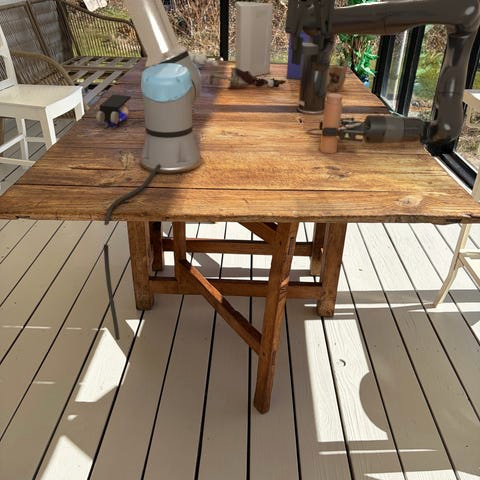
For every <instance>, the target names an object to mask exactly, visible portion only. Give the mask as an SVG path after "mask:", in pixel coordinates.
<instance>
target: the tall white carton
mask: <svg viewBox="0 0 480 480" xmlns="http://www.w3.org/2000/svg"><path fill="white" fill-rule="evenodd" d="M273 8H274V4H273V3H269V2H267V3H266V2H265V3H264V2H252V1H235V59H234V60H235V62H234V63H235V65H234V66H235V67H234V68H237V69H240V70H242V71H244V72H245V71H249V72H250V73H251V75H252V76H256V77H257V76H259V75H260V76H261V75H266V74H270V73H271V56H272V55H271V54H272V33H273V32H272V31H273V10H274V9H273Z"/></svg>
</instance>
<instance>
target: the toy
mask: <svg viewBox="0 0 480 480" xmlns="http://www.w3.org/2000/svg"><path fill="white" fill-rule="evenodd" d="M188 53H189V55H190V58H191V60H192V62H193V63H194V64H195V65H196V66H197V68H198V69H201V66H204V65H207V64H212V65H213V66H214V67H216V68H217V67H218V66H219V63H218V62H217V61H216V60H215V59H213V58H207V56H206V55H205V54H202V53H201V51H197V52H196V53H193V52H190V51H188Z"/></svg>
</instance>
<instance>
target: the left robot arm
mask: <svg viewBox="0 0 480 480" xmlns="http://www.w3.org/2000/svg"><path fill="white" fill-rule="evenodd" d="M123 3H124V5H125V8H126V10H127V12H128V15H129V16H130V19H131V21H132V23H133V26H134V29H135V31H136V34H138V38H139V40H140V42H141V44H142V47H143V49H144V51H145V53H146V56H147V58H146V62H145V68H144V69H143V71H142V73H141V77H140V78H141V79H140V81H141V82H140V90H141V94H142V105H143V115H144V125H145V138H144V142H143V146H142V150H141V154H140V162H141V166H142V168H144V169H145V170H146V171H149V172H151V173H150V174H149V175H148V177H147V178H146V180H145V181H144V182H143V183H142V184H141V185H140V186H139V187H137V188H136V189H134V190H133V191H130V192H129V193H127V194H125V195H122V196H121V197H119V198H117V199H116V200H115V201H114V202H113V203H111V204H110V205H109V207H108V208H107V210H106V214H105V218H104V223H103V225H104V226H108V225H109V224H110V220H111V215H112V212H113V210H114V209H115V208H116V207H117V206H118V205H119V204H121V203H122V202H123V201H125V200H128V199H130V198H131V197H133V196H135V195H137V194H138V193H140V192H141V191H143V190H144V189H145V188H146V187H147V186H148V185H149V183H150V182H151V180H152V179H153V178H154V176H155V175H156V174H163V175H164V174H165V175H169V174H170V175H172V174H173V175H175V174H182V173H187V172H190V171H193V170H195V169H197V168H198V167H199V166H201V163H202V155H201V151H200V149H199V146H198V143H201V137H200V136H198V135H196V134H195V133H194V130H193V129H194V126H193V104H194V103H195V102H196V100H197V99H198V98H199V96H200V93H201V91H202V85H203V80H202V75H201V71H200V68H197V66H196V65H195V64H194V63H193V62H192V60H191V58H190V55H189V53H188V52H189V50H188V48H187V47H185V46H183V45H182V44H179V41H178V38H177V36H176V34H175V31H174V29H173V25H172V23H171V21H170V19H169V15H168V14H167V11H166V9H165V5H164V4H163V1H162V0H123ZM335 3H336V0H287V9H286V17H285V26H284V32H285V34H286V33H287V34H288V35H289V34H290V35H291V36H292V38H291V50H292V61H291V63H292V64H296V65H300V61H301V52H302V42H303V37H301V36H300V35H301V31H302V28H303V25H304V21H305V18H306V15H307V12H308V8H310V7H312V6H314V14H315V25H316V33H317V35H316V34H313V41H312V43H314V44H318V53H317V54H316V55H311V59H310V62H313V63H317V64H318V63H319V60H320V52H321V49H322V48H323V42H324V36H327V35H328V32H331V31H332V24H333V14H334V8H335ZM197 142H198V143H197ZM109 255H110V254H109V244H103V259H104V271H105V279H106V280H105V281H106V288H107V295H108V300H109V305H110V306H109V307H110V311H111V317H112V323H113V330H114V337H115V340H116V341H119V340H120V338H121V337H120V330H119V324H118V318H117V311H116V308H115V307H116V306H115V300H114V293H113V288H112V280H111V271H110V256H109Z"/></svg>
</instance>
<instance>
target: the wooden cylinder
mask: <svg viewBox="0 0 480 480" xmlns="http://www.w3.org/2000/svg"><path fill="white" fill-rule="evenodd" d="M343 103H344V102H343V95H342V94H340V93H328V94H327V95H326V101H325V106H324V113H323V115H322V116H323V117H322V121H323V125H322V128H324V127H325V128H339V127H340V125H341V124H340V121H341V118H342V113H343ZM338 144H339V138H337V137H336V136H322V134H321V135H320V146H319V151H320V152H322V153H324V154H334V153H337V151H338Z"/></svg>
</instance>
